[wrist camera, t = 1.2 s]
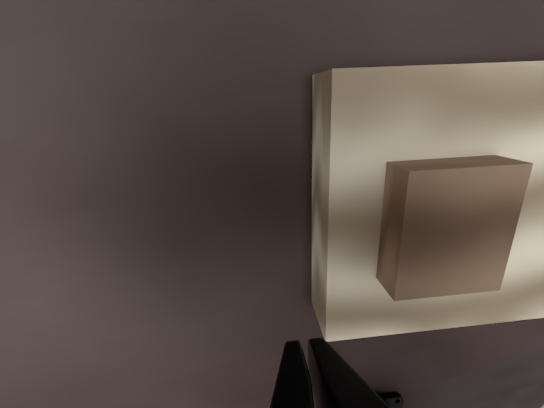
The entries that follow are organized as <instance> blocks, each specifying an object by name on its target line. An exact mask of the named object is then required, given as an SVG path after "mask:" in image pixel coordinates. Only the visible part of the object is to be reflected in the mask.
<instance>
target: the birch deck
mask: <svg viewBox="0 0 544 408" xmlns="http://www.w3.org/2000/svg"><path fill="white" fill-rule="evenodd" d="M485 155H498V156H502V157H507V158H511V159H516V160H520V161H525V162H530V163H533V166H532V170H531V174H530V178H529V182H528V185H527V189H526V193H525V197H524V201H523V205H522V208H521V212H520V216H519V220H518V224H517V228H516V231H515V235H514V239H513V243H512V247H511V251H510V254H509V258H508V262H507V266H506V270H505V273H504V277H503V281H502V285H501V289H500V290H498V291H489V292H479V293H469V294H459V295H450V296H440V297H430V298H420V299H411V300H401V301H393V299H392V298H391V297H390V295H389V294H388V293H387V291H386V290H385V289H384V287H383V286H382V285H381V283H380V282H379V281H378V279H377V278H376V273H377V262H378V251H379V240H380V229H381V218H382V207H383V196H384V185H385V174H386V163H387V162H391V161H406V160H422V159H438V158H454V157H470V156H485ZM311 302H312V305H313V308H314V311H315V314H316V316H317V319H318V322H319V325H320V328H321V331H322V334H323V336H324V339H325V340H326V341H327V342H330V341H339V340H348V339H357V338H365V337H374V336H383V335H392V334H401V333H410V332H419V331H428V330H437V329H446V328H455V327H464V326H473V325H482V324H491V323H500V322H509V321H518V320H527V319H536V318H544V61H524V62H497V63H470V64H443V65H416V66H389V67H361V68H334V69H329V70H326V71H323V72H320V73H317V74H314V75H312V287H311Z"/></svg>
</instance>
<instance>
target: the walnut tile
mask: <svg viewBox="0 0 544 408" xmlns="http://www.w3.org/2000/svg"><path fill="white" fill-rule="evenodd" d="M532 166H533V163H530V162H525V161H520V160H516V159H511V158H507V157H502V156H498V155H485V156H470V157H454V158H438V159H422V160H406V161H391V162H387V163H386V174H385V185H384V196H383V207H382V218H381V229H380V240H379V251H378V262H377V273H376V278H377V279H378V281H379V282H380V283H381V285H382V286H383V287H384V289H385V290H386V291H387V293H388V294H389V295H390V297H391V298H392V299H393V301H401V300H411V299H420V298H430V297H440V296H450V295H459V294H469V293H479V292H489V291H498V290H500V289H501V285H502V281H503V277H504V273H505V270H506V266H507V262H508V258H509V254H510V251H511V247H512V243H513V239H514V235H515V231H516V228H517V224H518V220H519V216H520V212H521V208H522V205H523V201H524V197H525V193H526V189H527V185H528V182H529V178H530V174H531V170H532Z"/></svg>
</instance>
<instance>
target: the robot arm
mask: <svg viewBox="0 0 544 408" xmlns="http://www.w3.org/2000/svg"><path fill="white" fill-rule="evenodd" d="M308 362H309V370H310V374H309V370H308V367H307V363H306V360H305V357H304V353H303V350H302V346H301V343H300V341H298V340H294V341H287V342H286V343H285V346H284V350H283V354H282V359H281V363H280V367H279V371H278V375H277V380H276V384H275V388H274V392H273V396H272V401H271V405H270V408H314V400H313V392H312V386H313V391H314V396H315V401H316V407H317V408H402V402H403V399H402V397H401V395H400V394H398V393H393V394H385V395H377V394H376V393H375V392H374V390H373V389H372V388H371V387H370V386H369V385H368V384H367V383H366V382H365V381H364V380H363V379H362V378H361V377H360V376H359V375H358V374H357V373H356V372H355V371H354V370H353V369H352V368H351V366H350V365H349V364H348V363H347V362H346V361H345V360H344V359H343V358H342V357H341V356H340V355H339V354H338V353H337V352H336V351H335V350H334V349H333V348H332V347H331V346H330V345H329V344H328V342H327V341H326V340H325V339H323V338H312V339H310V340H309V342H308ZM310 375H311V378H310ZM311 381H312V384H311Z"/></svg>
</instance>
